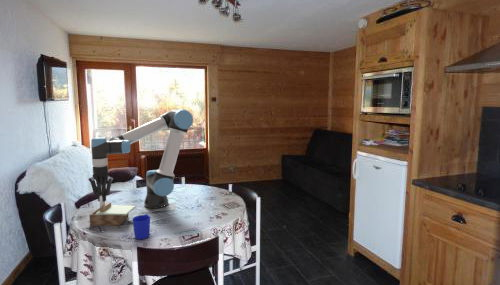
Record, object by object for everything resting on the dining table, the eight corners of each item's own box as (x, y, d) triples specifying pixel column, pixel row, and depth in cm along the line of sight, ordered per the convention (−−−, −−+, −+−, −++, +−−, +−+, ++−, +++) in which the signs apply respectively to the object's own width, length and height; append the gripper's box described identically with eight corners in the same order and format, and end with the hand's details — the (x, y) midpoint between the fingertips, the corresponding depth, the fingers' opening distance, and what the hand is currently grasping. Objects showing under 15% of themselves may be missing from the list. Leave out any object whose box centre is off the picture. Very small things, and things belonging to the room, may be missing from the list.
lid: (135, 206, 174) (135, 201, 174) (126, 215, 162) (126, 209, 161) (107, 206, 175) (106, 201, 174) (95, 214, 162) (95, 208, 161)
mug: (154, 230, 158) (154, 212, 157) (147, 240, 146) (147, 221, 145) (139, 230, 158) (138, 212, 156) (130, 240, 146) (130, 221, 144)
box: (128, 217, 175) (128, 207, 174) (119, 225, 163) (118, 215, 162) (101, 216, 175) (100, 207, 174) (90, 225, 163) (89, 214, 162)
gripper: (115, 164, 168) (117, 204, 172) (92, 164, 169) (94, 204, 172) (108, 167, 161) (110, 209, 164) (84, 166, 161) (87, 209, 164)
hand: (102, 206), depth 168 cm, fingers closed
